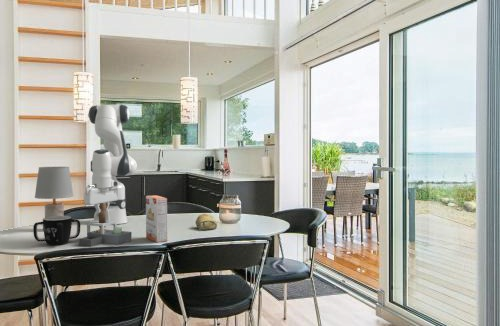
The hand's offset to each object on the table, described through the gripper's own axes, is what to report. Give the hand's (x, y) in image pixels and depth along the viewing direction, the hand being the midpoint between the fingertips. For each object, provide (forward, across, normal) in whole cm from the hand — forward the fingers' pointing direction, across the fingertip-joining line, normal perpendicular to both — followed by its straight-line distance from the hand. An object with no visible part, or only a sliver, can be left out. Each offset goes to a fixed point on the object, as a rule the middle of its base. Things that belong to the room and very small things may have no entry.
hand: (102, 212), depth 205 cm
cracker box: (+14, +10, -24) cm, 29 cm away
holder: (+13, -10, -3) cm, 17 cm away
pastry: (+14, +47, -31) cm, 58 cm away
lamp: (+14, +10, +41) cm, 45 cm away
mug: (+13, -15, +12) cm, 24 cm away
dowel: (+7, 0, 0) cm, 7 cm away
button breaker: (+13, 0, 0) cm, 13 cm away
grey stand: (+13, 0, -5) cm, 14 cm away
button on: (+11, 0, -10) cm, 15 cm away
